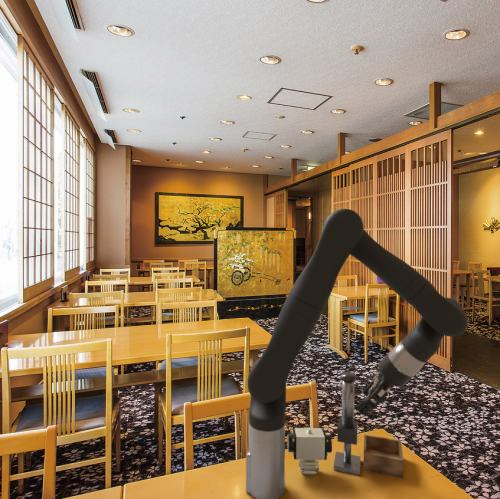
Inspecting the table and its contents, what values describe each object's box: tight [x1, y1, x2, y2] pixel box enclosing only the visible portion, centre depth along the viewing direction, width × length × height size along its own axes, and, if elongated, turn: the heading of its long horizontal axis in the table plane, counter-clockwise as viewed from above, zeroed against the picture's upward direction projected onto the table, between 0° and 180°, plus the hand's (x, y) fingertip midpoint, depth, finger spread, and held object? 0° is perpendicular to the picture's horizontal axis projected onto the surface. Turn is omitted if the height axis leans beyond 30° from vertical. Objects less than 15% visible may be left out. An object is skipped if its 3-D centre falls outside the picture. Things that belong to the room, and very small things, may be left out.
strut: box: [336, 371, 359, 446], centre depth 100 cm, size 5×5×18 cm
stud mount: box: [333, 443, 362, 476], centre depth 100 cm, size 7×7×11 cm
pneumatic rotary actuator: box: [286, 426, 333, 476], centre depth 97 cm, size 6×12×12 cm, turn 89°
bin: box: [363, 434, 405, 480], centre depth 101 cm, size 10×10×5 cm
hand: (362, 403), depth 94 cm, fingers open, 8 cm apart
